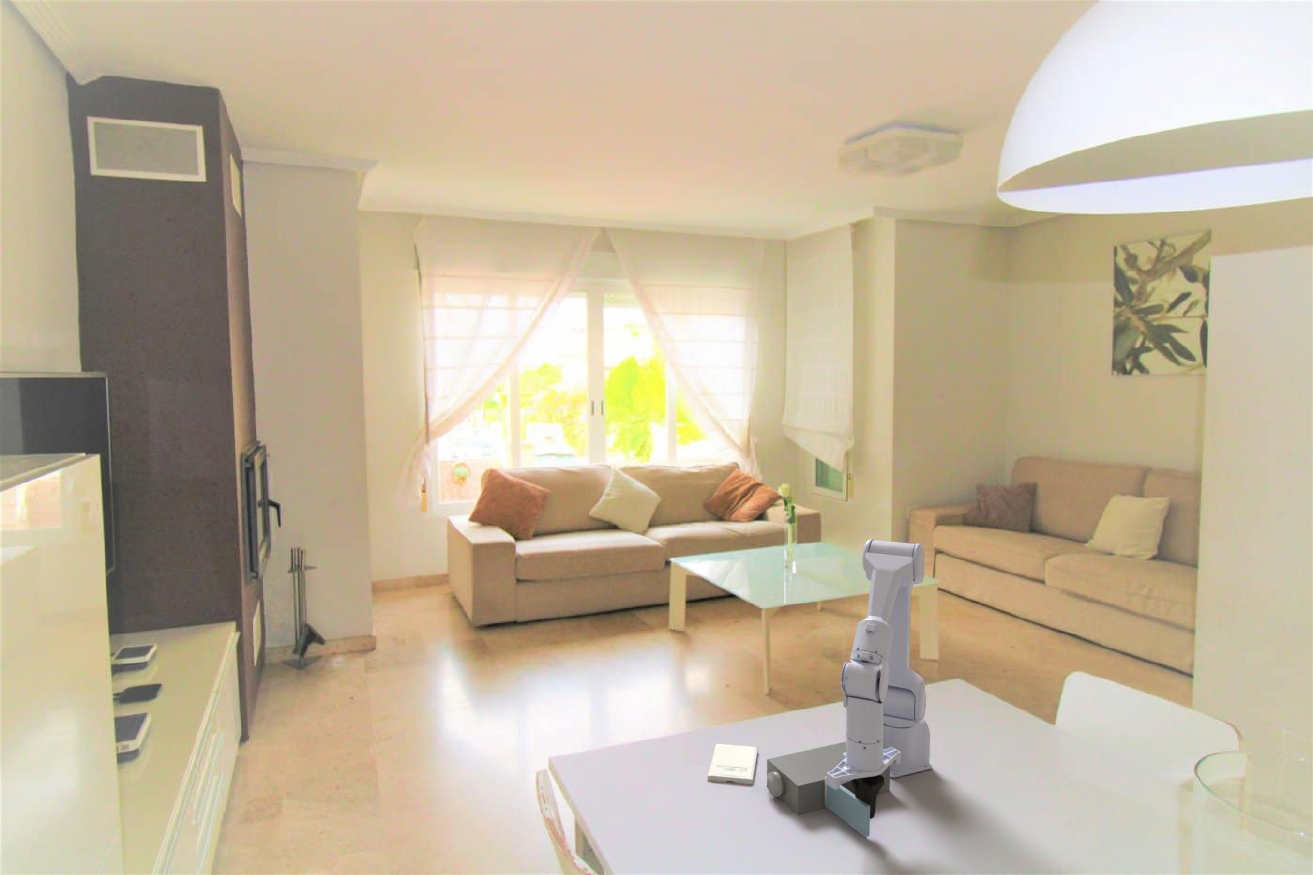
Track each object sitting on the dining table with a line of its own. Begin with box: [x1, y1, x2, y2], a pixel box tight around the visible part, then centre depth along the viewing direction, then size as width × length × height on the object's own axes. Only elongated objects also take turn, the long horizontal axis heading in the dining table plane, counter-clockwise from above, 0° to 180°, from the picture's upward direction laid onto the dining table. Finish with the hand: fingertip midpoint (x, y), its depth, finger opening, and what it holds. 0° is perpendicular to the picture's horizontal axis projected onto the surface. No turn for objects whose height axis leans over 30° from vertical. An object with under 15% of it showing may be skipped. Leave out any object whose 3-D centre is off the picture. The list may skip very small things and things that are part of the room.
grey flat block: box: [766, 741, 891, 815], centre depth 140 cm, size 20×10×5 cm, turn 113°
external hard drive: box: [707, 743, 759, 785], centre depth 149 cm, size 2×8×12 cm
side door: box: [824, 776, 871, 838], centre depth 130 cm, size 10×1×5 cm, turn 26°
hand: (864, 816), depth 127 cm, fingers closed, pressing on side door
